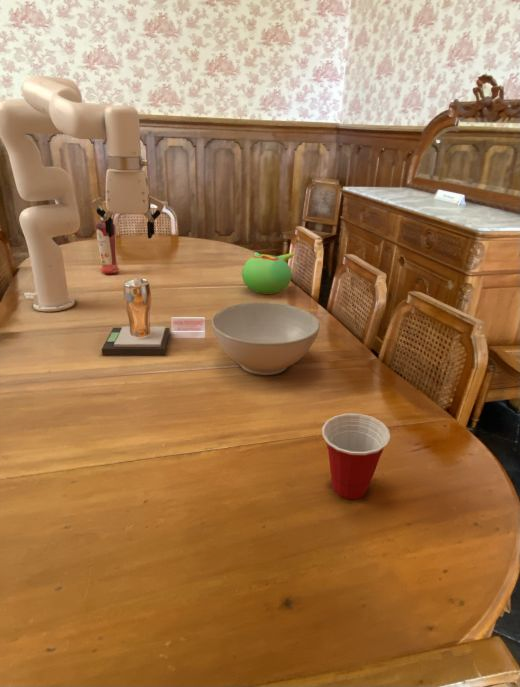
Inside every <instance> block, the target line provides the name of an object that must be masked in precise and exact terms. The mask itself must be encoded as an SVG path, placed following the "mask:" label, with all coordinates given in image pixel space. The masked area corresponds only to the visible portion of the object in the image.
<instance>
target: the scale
mask: <svg viewBox="0 0 520 687" xmlns="http://www.w3.org/2000/svg"><path fill="white" fill-rule="evenodd" d="M150 327H151V331H152V335H151V336H150V337H148V338H145V339H133V338H131V337H130V336H129V330H130V325H129V326H127V325H126V326H125V325H124V326H122V327H113V328H112V329H111V331H110V333H109V335H108V336H107V338H106V340H105V342H104V344H103V345H102V347H101V353H102V354H101V355H102V356H165V354H166V350H167V347H168V343H169V339H170V335H171V330H170V327H167V326H164V325H163V326H162V325H161V326H152V325H150Z"/></svg>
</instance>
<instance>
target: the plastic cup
mask: <svg viewBox="0 0 520 687" xmlns="http://www.w3.org/2000/svg"><path fill="white" fill-rule="evenodd" d="M321 433H322V434H321V436H322V438H323V440H324V441H325V443H326V446H327V450H328V461H329V471H330V474H331V475H330V476H331V486H332V489H333V490H334V493H335V494H337V495H338V496H339V497H342V498H344V499H346V500H358V499H361V498H362V497H364V496H365V494H366V493H367V491H368V488H369V486H370V483H371V481H372V479H373V477H374V474H375V471H376V470H377V466H378V464H379V461H380V458H381V456H382V454H383V452H384V449H385V448H386V447H387V445H388V443H389V442H390V439H391V433H390V430H389V428H388V427H387V426H386V425H385V423H383V421H381V420H380V419H377V418H375V417H374V416H371V415H367V414H363V413H351V412H350V413H348V412H347V413H342V414H338V415H335V416H333V417H331V418H329V419H327V420H326V421H325V423H324V424H323V425H322V427H321Z"/></svg>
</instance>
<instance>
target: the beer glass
mask: <svg viewBox="0 0 520 687" xmlns="http://www.w3.org/2000/svg"><path fill="white" fill-rule="evenodd" d="M122 284H123V301H124V307H125V310H126V315H127V317H128V321H129V326H130V330H129V336H130V337H131V338H133V339H145V338H148V337H150V336H151V335H152V331H151V327H150V326H151V323H150V322H151V321H150V320H151V308H152V292H151V286H150V280H148V279H144V278H130V279H126V280H124V281H123V283H122Z"/></svg>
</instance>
